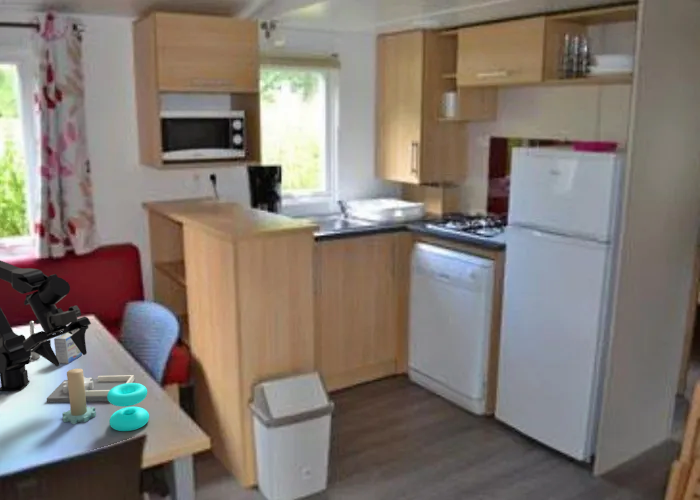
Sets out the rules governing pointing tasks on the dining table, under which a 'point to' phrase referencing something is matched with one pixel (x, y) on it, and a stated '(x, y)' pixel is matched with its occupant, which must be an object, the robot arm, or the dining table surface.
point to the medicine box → (66, 349)
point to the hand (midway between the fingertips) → (72, 359)
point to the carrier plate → (91, 388)
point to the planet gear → (77, 399)
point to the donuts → (130, 415)
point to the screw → (32, 331)
